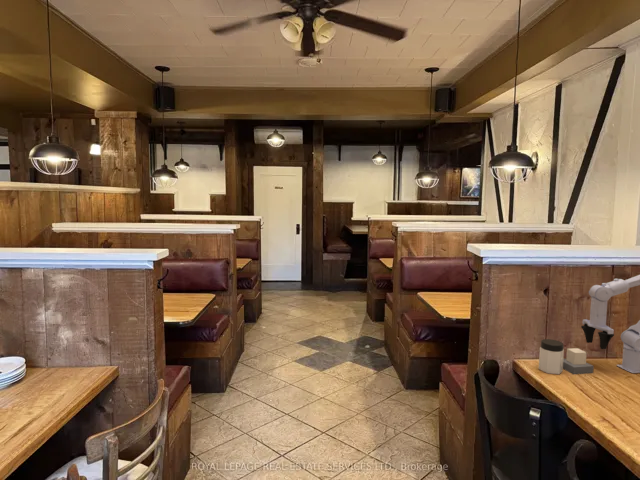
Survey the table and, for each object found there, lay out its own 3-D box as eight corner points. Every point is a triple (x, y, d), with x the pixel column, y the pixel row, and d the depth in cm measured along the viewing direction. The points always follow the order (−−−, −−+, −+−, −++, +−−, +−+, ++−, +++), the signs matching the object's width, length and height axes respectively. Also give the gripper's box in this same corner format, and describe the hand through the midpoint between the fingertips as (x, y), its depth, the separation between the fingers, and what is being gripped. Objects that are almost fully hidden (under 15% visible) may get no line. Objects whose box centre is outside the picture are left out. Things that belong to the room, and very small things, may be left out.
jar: (557, 376, 167) (559, 347, 166) (536, 370, 173) (537, 342, 172) (564, 370, 173) (566, 342, 172) (543, 364, 179) (545, 337, 178)
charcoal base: (576, 365, 180) (576, 357, 179) (593, 374, 171) (593, 366, 170) (557, 366, 178) (558, 358, 178) (573, 375, 169) (574, 367, 169)
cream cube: (577, 359, 177) (578, 348, 176) (585, 364, 172) (586, 352, 171) (566, 360, 177) (566, 348, 176) (574, 364, 172) (574, 352, 171)
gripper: (576, 309, 181) (574, 340, 183) (603, 319, 167) (601, 352, 168) (591, 309, 182) (589, 339, 183) (619, 318, 168) (616, 351, 169)
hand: (596, 345), depth 176 cm, fingers open, 7 cm apart
